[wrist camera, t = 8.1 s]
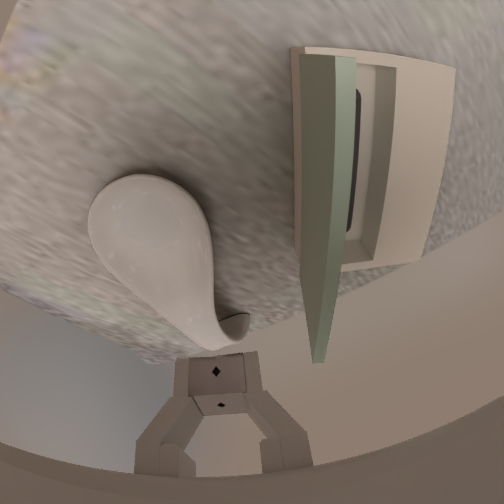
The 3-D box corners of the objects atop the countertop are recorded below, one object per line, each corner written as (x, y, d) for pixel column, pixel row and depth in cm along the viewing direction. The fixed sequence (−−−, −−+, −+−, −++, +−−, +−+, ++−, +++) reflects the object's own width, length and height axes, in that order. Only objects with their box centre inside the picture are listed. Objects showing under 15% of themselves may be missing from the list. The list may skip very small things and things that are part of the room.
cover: (356, 57, 9) (335, 56, 9) (323, 362, 20) (312, 363, 21) (310, 53, 16) (298, 53, 16) (307, 274, 28) (299, 275, 28)
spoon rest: (78, 200, 27) (48, 240, 21) (169, 138, 25) (152, 167, 19) (198, 332, 41) (197, 377, 35) (277, 303, 38) (286, 349, 33)
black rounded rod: (348, 83, 21) (366, 87, 20) (340, 224, 30) (354, 233, 28) (331, 84, 21) (349, 87, 19) (326, 230, 29) (339, 240, 28)
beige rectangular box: (423, 61, 21) (455, 67, 17) (400, 234, 33) (419, 261, 29) (289, 47, 20) (304, 46, 16) (294, 245, 33) (303, 276, 29)
